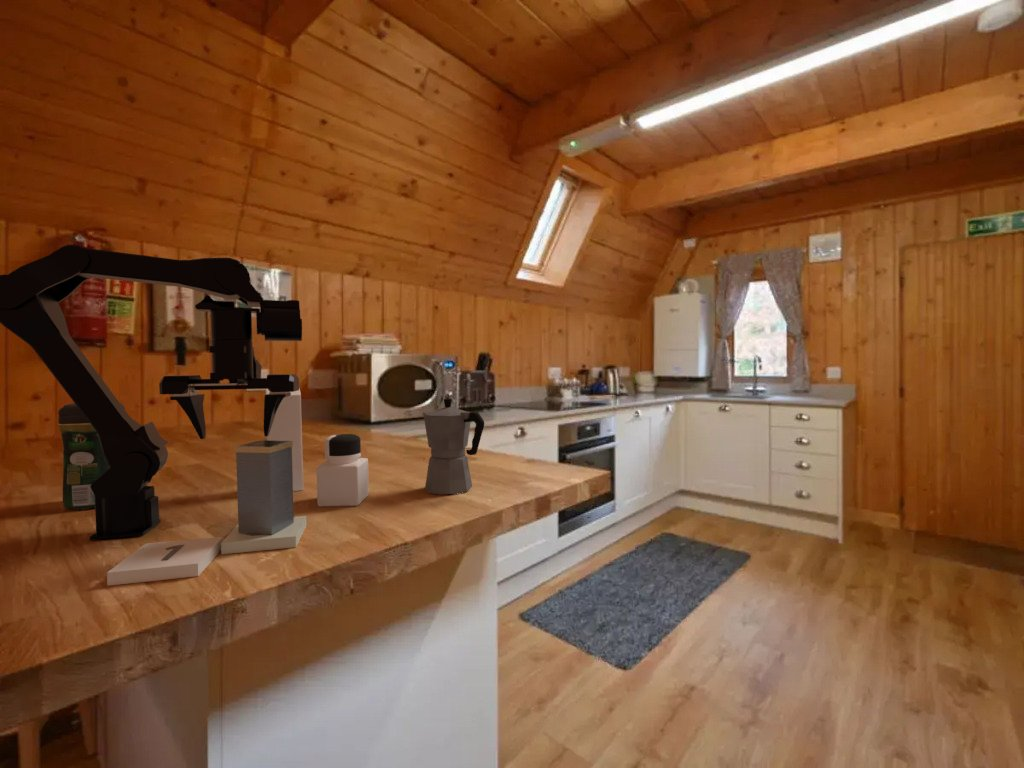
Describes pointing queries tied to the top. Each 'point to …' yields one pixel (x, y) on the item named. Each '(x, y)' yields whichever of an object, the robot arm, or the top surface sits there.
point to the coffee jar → (80, 458)
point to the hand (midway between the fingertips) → (235, 437)
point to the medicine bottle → (342, 472)
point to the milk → (290, 432)
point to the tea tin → (264, 486)
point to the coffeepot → (450, 448)
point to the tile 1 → (165, 561)
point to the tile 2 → (264, 539)
